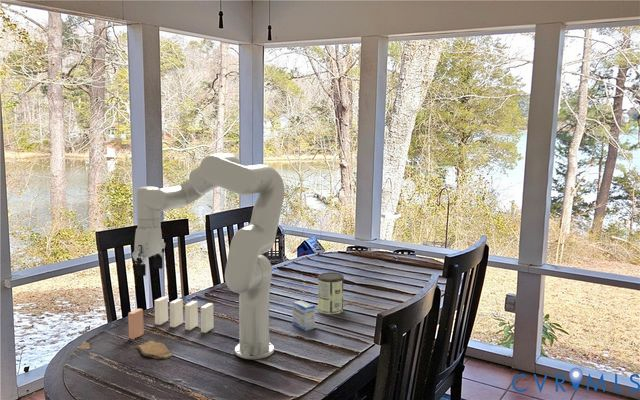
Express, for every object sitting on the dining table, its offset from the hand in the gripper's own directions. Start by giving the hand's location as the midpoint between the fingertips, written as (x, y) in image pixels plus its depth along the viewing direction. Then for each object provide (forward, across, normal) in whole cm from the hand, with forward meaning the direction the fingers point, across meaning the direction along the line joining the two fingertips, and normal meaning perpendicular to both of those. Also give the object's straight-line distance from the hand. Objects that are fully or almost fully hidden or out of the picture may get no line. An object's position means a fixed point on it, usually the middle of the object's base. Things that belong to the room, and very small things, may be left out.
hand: (149, 271), depth 177 cm
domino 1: (+22, -9, +5) cm, 24 cm away
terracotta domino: (+22, +5, -2) cm, 23 cm away
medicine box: (+21, -22, +49) cm, 58 cm away
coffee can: (+21, -42, +54) cm, 71 cm away
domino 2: (+22, -9, +11) cm, 26 cm away
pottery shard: (+22, +14, +10) cm, 28 cm away
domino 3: (+22, -8, +18) cm, 29 cm away
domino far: (+22, -9, -2) cm, 24 cm away
